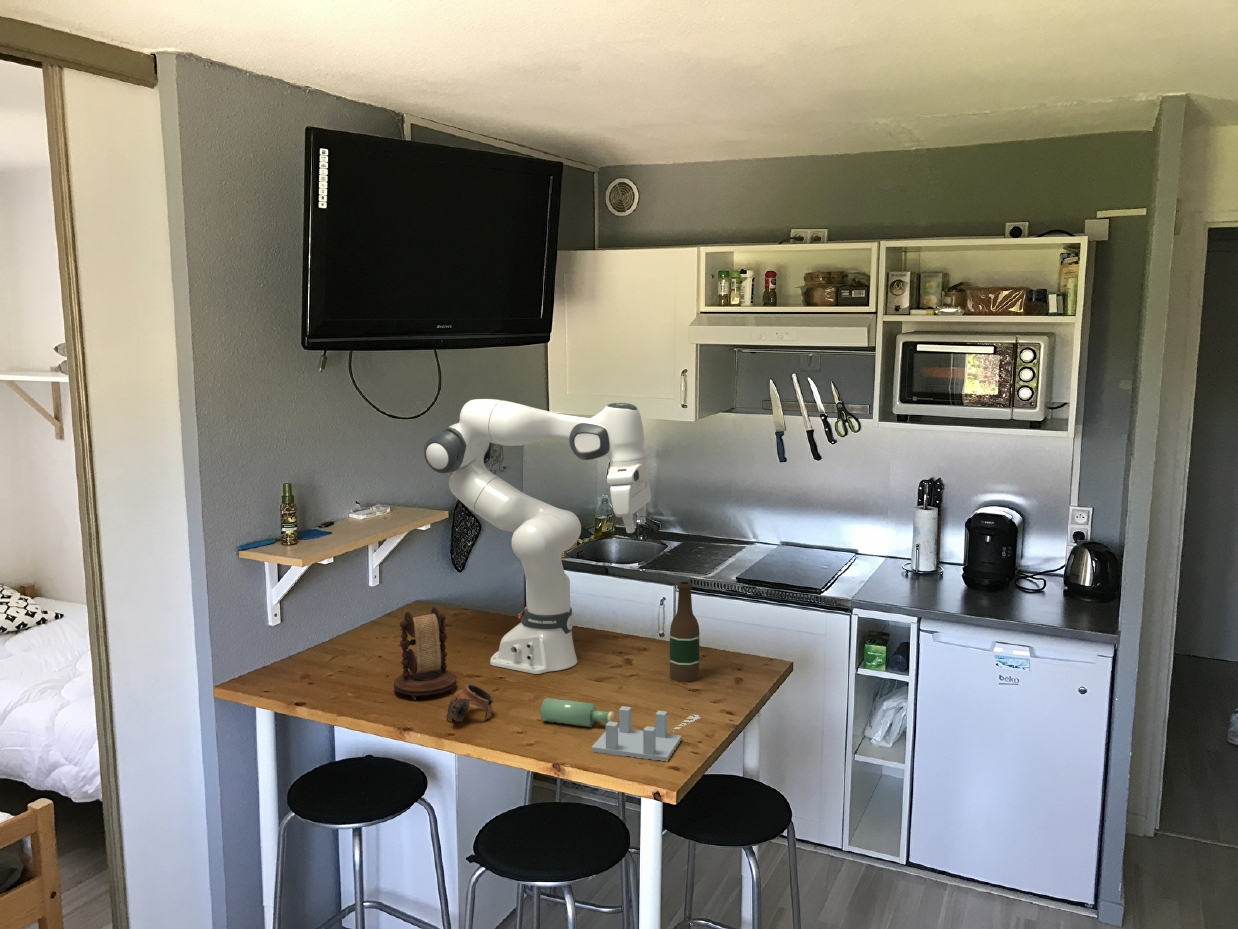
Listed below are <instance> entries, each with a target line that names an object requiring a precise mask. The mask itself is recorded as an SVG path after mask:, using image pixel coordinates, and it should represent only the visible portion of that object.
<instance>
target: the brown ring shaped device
mask: <svg viewBox="0 0 1238 929" xmlns="http://www.w3.org/2000/svg"><path fill="white" fill-rule="evenodd" d="M470 702H471V703H470ZM492 703H494V698H493V697H492V695H490V693H488V692H487V691H485V690H484V689H482V688H481V687H478V686H476V685H475V684H468V683H467V684H465V685H464V688H462V689H460V690H459V689H458V690H457V691H456V692H455V693H454V694H453V696H452V697H451V699H450V702H449V704H448V708H447V714H446V716H445V717H446V720H447V719H449V720H450V721H453V720H454V721H455V722H456V723H457V722H458V723H462V722H463V721H464V718H465V716H466V714H467V712H468V710H469V709H470V704H471V705H475V706H477V707H480V708H482V709H484V710H485V711H486V712H485V716H484V720H485V719H488V718H489V717H491V714H492V711H493V710H492V709H493V706H492ZM488 720H489V719H488Z"/></svg>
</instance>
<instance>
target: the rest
mask: <svg viewBox="0 0 1238 929" xmlns="http://www.w3.org/2000/svg"><path fill="white" fill-rule="evenodd" d="M618 719H619V720H618V722H617V721H614V722H608V723H607V722H606V724H605V731H604V732H603V733H602V735H601V736H600V737H599V738H598V739H596V741H595V742H594V744H593V745H592V746H591V753H597V752H598V754H605V753H606V754H605V755H614V756H620V755H621V757H626V756H631V757H630V758H634V757H636V758H635V759H641V758H644V760H648V759H652V760H651V761H655V760H662V761H661V762H663V760H664V761H667V760H668V759H669V760H670V759H671V757H670V756H672V755H673V754H674V752H675V751H676V749H677V748H676V746H677V747H678V746H679V745H678V744H680V743H681V742H682V735H679V734H673V733H668V711H664V710H657V712H656V713H655V727H654V726H647V725H646V726H645V727H644V728H643V730H639V729H633V728H632V707H631V706H624V705H622V706H621V707H620V708H619V709H618ZM680 741H681V742H680ZM674 750H675V751H674ZM673 751H674V752H673ZM672 753H673V754H672ZM671 754H672V755H671ZM669 760H668V761H669ZM668 761H667V762H668Z"/></svg>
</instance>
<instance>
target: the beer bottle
mask: <svg viewBox="0 0 1238 929" xmlns="http://www.w3.org/2000/svg"><path fill="white" fill-rule="evenodd" d="M677 588H678V594H677V596H678V597H677V598H678V599H677V610H676V614H675V615H674V617H673V619H672V621H671V623H670V631H669V678H670V679H671V680H673V681H675V682H677V683H691V681H692V682H695V681H698V680H699V678H700V625H699V622H698V619H697V617H696V616H695V615H694V613H693V601H692V600H693V599H692V588H693V584H692V582H690V581H679V582H678V584H677Z"/></svg>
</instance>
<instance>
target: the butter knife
mask: <svg viewBox="0 0 1238 929" xmlns="http://www.w3.org/2000/svg"><path fill="white" fill-rule="evenodd" d="M693 715H694V716H695V717H693V716H691V715H689V716H688V717H687V718H685V719H693V720H690V721H689V720H685V719H684V720H683V721H682V722H689V723H690V722H693V723H695V722H696V721H695V720H697V719H698V720H700V719H702V717H699V716H700V715H699V714H693ZM698 720H697V721H698ZM694 721H695V722H694ZM682 722H681V723H682ZM681 723H680V724H678V725H677V726H684V727H686V726H688V725H690V724H691V723H690V724H689V723H688V725H687V724H686V723H682V724H684V725H682V724H681ZM685 725H686V726H685ZM677 726H675V727H673V729H679V730H681V729H683V728H682V727H677ZM680 728H681V729H680ZM673 732H674V731H673Z"/></svg>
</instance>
